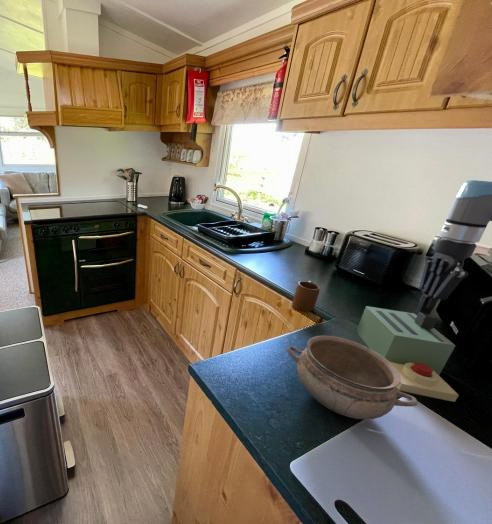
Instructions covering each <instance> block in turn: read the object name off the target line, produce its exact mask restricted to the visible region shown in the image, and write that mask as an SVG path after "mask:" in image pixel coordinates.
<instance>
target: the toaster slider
mask: <svg viewBox="0 0 492 524" xmlns="http://www.w3.org/2000/svg"><path fill="white" fill-rule="evenodd" d="M437 321H438V317H437V316H435V315H434V314H433V313H432V312H431V313H425V312H419V313H418V315H417V317H416V319H415V323H416V324H418V325H419V326H420V327H423V328H429V329H433V328H434V327H435V325H436V323H437Z"/></svg>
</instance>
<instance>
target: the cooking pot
mask: <svg viewBox="0 0 492 524" xmlns="http://www.w3.org/2000/svg"><path fill="white" fill-rule="evenodd" d="M286 352H287V354H288V355H289V356H290V357H291V359H293V361H295V363H296V371H297V377H298V379H299V381H300V383H301V386H302V387H303V388H304V389H305V391H306V392H307V393H308V394H309V395H310V396H311V397H312V398H313V399H314V400H315V401H316V402H318V403H319V404H320V405H322V406H323V407H325V408H327V409H328V410H330V411H332V412H334V413H336V414H338V415H341V416H344V417H347V418H352V419H356V420H375V419H378V418H382V417H384V416H385V415H387V414H389V413H390V412H391V411H392V410H393V408H394V407H416V406H417V405H418V404H419V401H418V400H417V398H416V397H414V396H413V395H410V394H408V393H406V392H403V391H399V390H398V389H397V387H396V386H398V385H399V384H400V381H401V377H400V374H399V372H398V370H397V369H396V368H395V367H394V366H393V365H392V364H391V363H390V362H389V361H388V360H387V359H385V358H384V357H383V356H381V355H380V354H378V353H377V352H375V351H373V350H371V349H370V348H369V347H368V346H365V345H364V344H361V343H358V342H356V341H353V340H351V339H350V340H349V339H347V338H344V337H339V336H333V335H316V336H313V337H310V338H309V339H308V340H307V342H306V347H305V349H304V350H300V349H299V348H296V347H294V346H291V345H289V346H287V347H286ZM295 353H296V354H298V355H296V354H295ZM397 397H398V398H404V399H407V400H410V401H405V400H401V399H398V398H397Z"/></svg>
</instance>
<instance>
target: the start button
mask: <svg viewBox="0 0 492 524" xmlns="http://www.w3.org/2000/svg"><path fill="white" fill-rule="evenodd" d="M412 370H413V371H414V372H416V373H417V374H419V375H422V376H425V377H430V376H431V374H432V372H433V370H432V369H431V368H430V367H429V366H427V365H425V364H422V363H414V365H413V367H412Z"/></svg>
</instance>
